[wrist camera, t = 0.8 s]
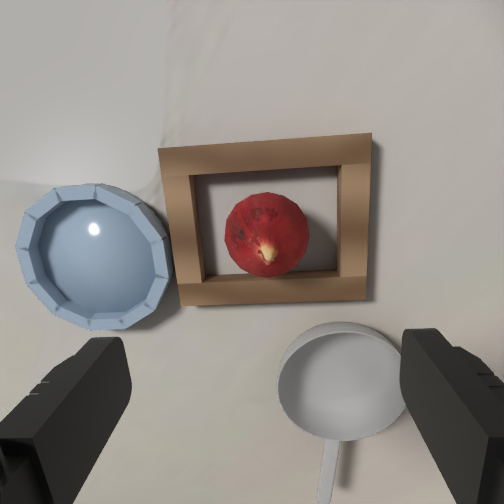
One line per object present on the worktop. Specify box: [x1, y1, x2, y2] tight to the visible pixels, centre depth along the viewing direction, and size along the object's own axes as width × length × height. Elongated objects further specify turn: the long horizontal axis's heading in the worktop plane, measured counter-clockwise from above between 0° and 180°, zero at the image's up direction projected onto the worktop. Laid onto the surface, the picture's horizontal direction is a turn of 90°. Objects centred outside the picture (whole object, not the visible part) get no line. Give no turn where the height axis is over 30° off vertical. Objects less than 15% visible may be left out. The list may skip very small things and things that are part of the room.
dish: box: [15, 184, 174, 330], centre depth 27 cm, size 12×12×2 cm
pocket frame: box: [158, 133, 372, 306], centre depth 26 cm, size 12×15×2 cm
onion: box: [225, 192, 309, 278], centre depth 23 cm, size 6×6×8 cm
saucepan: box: [277, 322, 406, 504], centre depth 30 cm, size 11×18×4 cm, turn 176°
